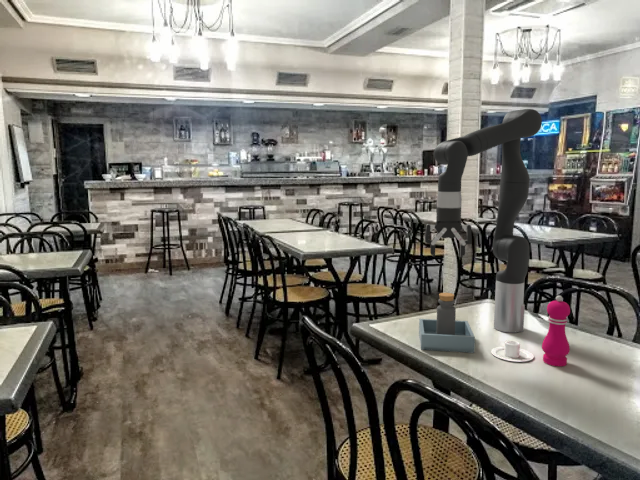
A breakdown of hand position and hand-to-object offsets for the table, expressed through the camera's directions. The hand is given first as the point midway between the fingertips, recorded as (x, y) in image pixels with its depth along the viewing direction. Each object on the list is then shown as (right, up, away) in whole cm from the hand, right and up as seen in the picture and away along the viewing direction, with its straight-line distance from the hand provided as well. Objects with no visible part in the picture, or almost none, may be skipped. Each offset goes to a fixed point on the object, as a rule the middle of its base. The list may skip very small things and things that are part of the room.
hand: (447, 256), depth 152 cm
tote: (0, -28, +3) cm, 28 cm away
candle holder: (+17, -30, -8) cm, 36 cm away
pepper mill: (+28, -31, -13) cm, 43 cm away
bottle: (0, -27, +3) cm, 27 cm away
